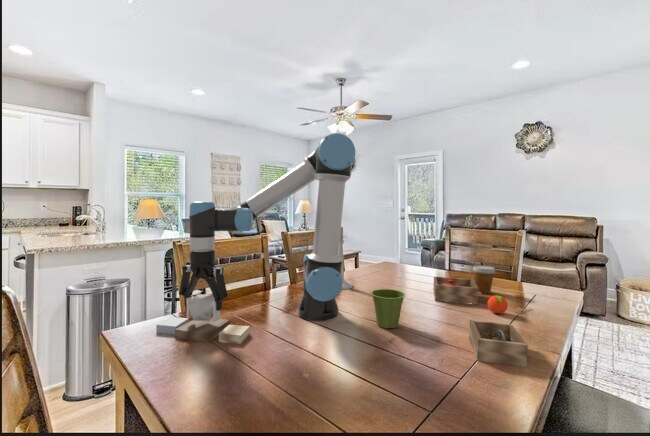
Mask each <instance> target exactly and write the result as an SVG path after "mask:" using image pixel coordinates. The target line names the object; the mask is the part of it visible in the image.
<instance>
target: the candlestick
mask: <svg viewBox="0 0 650 436" xmlns="http://www.w3.org/2000/svg"><path fill="white" fill-rule="evenodd" d="M344 242H345V240H344V227H343V226H341V231H340V241H339V252H338V255H339V256H340V257H341V259H342V268H341V277H342V282H343V284H342V289H341V291H342V290H343V291H344V290H350V289H352V288H353V287H354V284H353V283H352V282H351V281H348V280H345V275H344V271H345V270H344V248H343V245H344Z"/></svg>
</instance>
